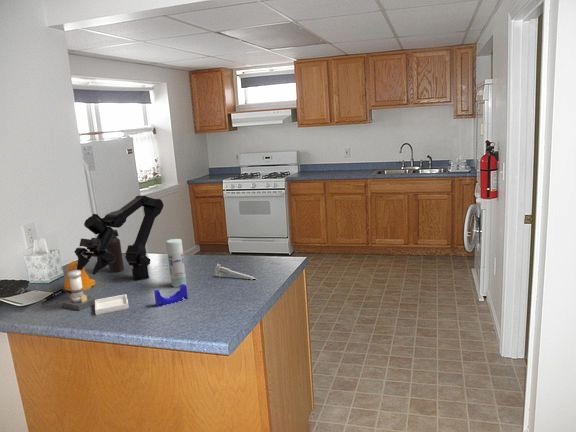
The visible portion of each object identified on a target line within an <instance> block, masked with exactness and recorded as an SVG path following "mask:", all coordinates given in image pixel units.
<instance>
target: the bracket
mask: <svg viewBox="0 0 576 432" xmlns="http://www.w3.org/2000/svg"><path fill="white" fill-rule="evenodd" d="M77 265H78V261H71V262H69V264H68V265H67V270H66V273H65V274H66V275H65V279H64V283H63V284H64V290H66V291H69V292H71V285H70V279H69V278H68V272H70V271H73V270H77ZM85 269H86V266H85V267H84V268H83V269H82V270H81V280H82V287H83V291H86V290H89V289H91V288H92V287H93V286H95V285H96V280H95V279H92V278H90V277H89V275H88V274H87V272H86V270H85Z"/></svg>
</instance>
